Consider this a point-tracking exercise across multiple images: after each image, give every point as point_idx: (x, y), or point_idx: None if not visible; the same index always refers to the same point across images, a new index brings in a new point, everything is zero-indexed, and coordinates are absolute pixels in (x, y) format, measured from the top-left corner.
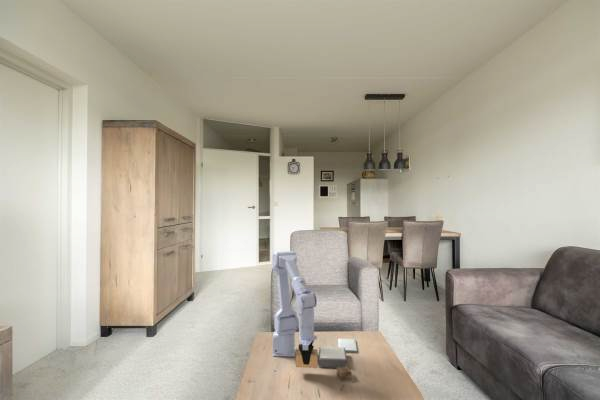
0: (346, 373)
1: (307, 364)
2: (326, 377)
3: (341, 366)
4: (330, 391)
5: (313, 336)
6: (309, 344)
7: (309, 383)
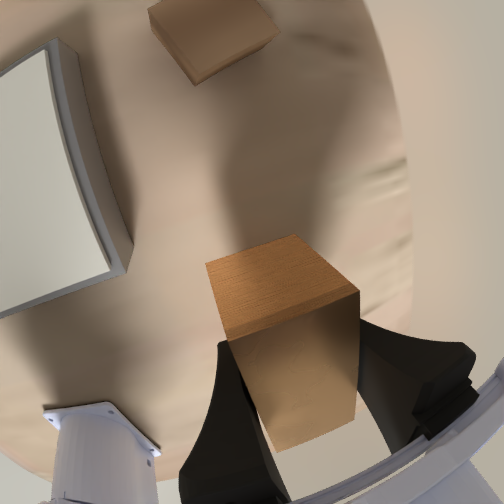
0: (251, 2)
1: None
2: (249, 152)
3: (81, 85)
4: (378, 106)
5: (449, 494)
6: (262, 443)
7: (338, 235)
